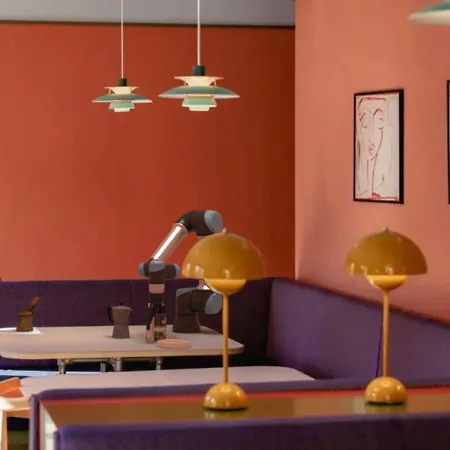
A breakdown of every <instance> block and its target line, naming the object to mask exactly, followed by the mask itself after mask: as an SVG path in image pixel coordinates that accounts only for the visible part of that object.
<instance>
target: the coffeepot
mask: <svg viewBox="0 0 450 450" xmlns="http://www.w3.org/2000/svg"><path fill="white" fill-rule="evenodd" d="M111 311H112V315H111ZM131 312H133V308H131V307H128V306H125V305H124V302H122V301H120V302H119V305H118V306H112V305H109V306H108V307H107V308H106V313H107V317H108V321H109V322H110V323H114V325H113V328H112V329H113V330H112V335H111V338H113V339H117V340H118V339H119V340H121V339H122V340H123V339H130V338H131V336H130V335H131V334H130V327H129V323H128V322H129V320H130V314H131ZM112 318H113V320H112Z"/></svg>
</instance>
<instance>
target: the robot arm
mask: <svg viewBox="0 0 450 450" xmlns="http://www.w3.org/2000/svg"><path fill="white" fill-rule="evenodd" d="M223 228H224V221H223V217H222V215H221V214H220V212H219V211H217V210H210V209H204V210H203V209H191V210H188V211H186V212H184V213H183V214H182V215H181V216H179V217H178V218H177V219H176V220H175V221H174V223H173V224H172V225H171V230H170V231H169V232H168V233H167V235H166V236H165V238H164V239H163V240H162V241H161V243H160V244H159V246H158V247H157V248H156V249H155V251H154V252H153V253H152V255H151V256H150V257H149V259H148V260H147V261H146V262H145V261H144V262H141V263H140V264H138V268H137V272H138V274H139V276H140V277H143V278H146V279H147V278H148V283H149V284H148V290H149V293H148V300H149V301H150V302H149V303H146V309H145V312H144V313H145V314H144V316H143V317H144V318H143V323H144V324H145V338H146V337H152V324H151V321H152V319H153V315H154V314H155V313H166V314H167V315H166V322H168V321H169V314H168V309H167V305H166V301H164V300H165V293H164V292H165V280H174V279H178V278H179V277H180V276H181V273H182V272H181V271H182V270H181V268H180V266H179V265H178V264H176V263H166V261H168V259H169V258H170V256H171V255H172V254H173V252H174V251H175V250H176V248H177V247H178V246H179V244H180V243H181V242H182V241H183V239H184V238H187V237H188V236H189V234H192V233H195V236H196V237H197V239H198V241H199V240H200V239H202V238H203V237H205V236H207V235H211V234H214V233H218V232H219V233H221V231H222V230H223ZM219 233H218V234H219ZM198 281H199V284H198V286H197V287H196V286H195V287H186V288H185V287H184V288H177V289H176V293H175V318H174V321H173V324H172V328H171V331H172V332H175V333H183V334H185V333H187V334H189V333H193V334H194V333H201V331H202V328H201V323H200V321H199V315H198V314H199V313H200V314H207V315H212V314H213V315H214V314H217V313H219V312H220V310H221V309H222V307H223V305H222V296H223V294H222V295H219V294H216V293H214V292H213V291H211V290H210V289H209V288H208V287H207V285H206V284H205V283H204V281H203V280H199V279H198Z"/></svg>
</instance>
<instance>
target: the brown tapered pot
mask: <svg viewBox="0 0 450 450" xmlns="http://www.w3.org/2000/svg"><path fill="white" fill-rule="evenodd" d="M39 303H40V295H37V296H35V297H34V298H32V300H31V302H30V306H29V307H28V308H21V309H20V308H19V309H18V313H17V315H18V317H17V324H16V328H15V331H16V332H20V333H21V332H23V333H27V332H28V333H29V332H33V331H34V326H33V321H34V318H35V316H36V310H35V307H37V305H38V304H39Z"/></svg>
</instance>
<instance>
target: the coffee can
mask: <svg viewBox="0 0 450 450" xmlns="http://www.w3.org/2000/svg"><path fill="white" fill-rule="evenodd" d="M166 315H167V314H166V313H158V312H156V313H155V314H154V315H153V319H152V321H151V324H152V337H146V336H145V342H146V343H150V344H157V341H158V340H164V339H167V321H166Z"/></svg>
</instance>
